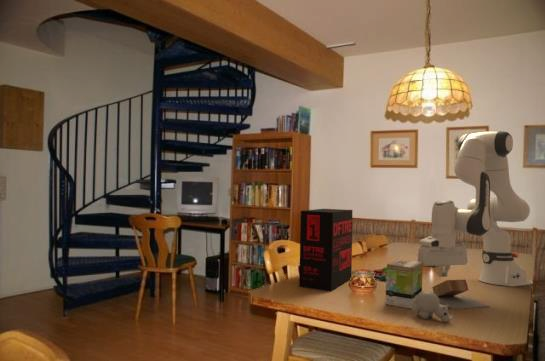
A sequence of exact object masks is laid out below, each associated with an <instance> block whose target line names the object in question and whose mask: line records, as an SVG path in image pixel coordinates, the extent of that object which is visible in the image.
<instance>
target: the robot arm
mask: <svg viewBox="0 0 545 361" xmlns="http://www.w3.org/2000/svg"><path fill="white" fill-rule="evenodd" d="M513 146H514V141H513V137H512V135H511V134H510V133H509V132H508V131H501V130H499V131H481V132H474V133H466V134H463V135H462V136H461V137H460V138H459V140H458V142H457V150H458V153H457V156H456V158H455V159H456V160H455V163H454V170H453V171H454V173H455V175H456V177H457V179H459V180H461V181H462V182H463V183H466V184H468V185H469V186H470V185H471V186H473V187H474V188H475V198H471V199H470V200H469V202H468V203H467V206H466V207H467V208H459V207H457V206H455V202H454V201H453V200H450V199H449V200H448V199H443V200H442V199H441V200H437V201H434V202H433V204H432V209H431V222H430V223H431V228H432V230H431V232H430V233H431V234H430V235H429V236H427V237H425V238H421V239H420V240H419V245H420V246H419V248H418V253H417V262H423V267H428V266H429V267H430V266H431V267H432V266H433V267H434V266H435V269H436V271H437V274H438V275H437V276H438V277H441V278H442V277H448V272H449V270H450V269H451V266H464V265H467V263H468V252H467V244H466V243H465V242H464V241H462V240H460V241H459V240H456V233H459V234H460V233H461V234H469V235H472V236H477V237H481V236H482V239H483V240H482V241H483V242H482V243H483V244H482V245H483V249H482V252H481V253H482V256H481V258H482V264H481V266H482V267H481V272H480V276H479V279H478V280H479V281H480V282H483V283H485V284H486V283H487V284H491V285H498V286H505V287H522V286H529V285H533V284H534V282H533V281H532V280H530V279H528V277H527V272H526V270H525V268H524V267H522V266H521V265H520V264H519V263H517V262H516V261H515V258H516V259H517V258H519V257H520V255H519V254H518V253H517V252H516V253H515V252H511V251H512V250H511V248H512V245H511V243H512V241H511V240H512V239H511V235H510V234H509V233H508V232H507V231H506V230H505V229H502V228H501V227H499V226H498V224H497V222H502V223H504V222H505V223H518V222H525V221H526V220H527V219H528V217H529V216H530V213H531V212H530V211H531V209H530V205H529V203H528V202H527V201H526V200H525V199H523V198H522V197H520V196H519V195H518V194H517V193H516V191H515V190H514V189H513V187H512V184H511V179H510V173H509V172H510V169H509V160H508V156H507V155H509V154H510V153H511V152H512V150H513ZM491 192H492V193H493V194H494V195H495V196H496V197H491ZM442 268H444V269H443V271H442Z"/></svg>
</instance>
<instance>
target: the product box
mask: <svg viewBox="0 0 545 361" xmlns="http://www.w3.org/2000/svg"><path fill="white" fill-rule="evenodd" d="M353 212H354V211H353V209H338V208H336V209H335V208H316V209H307V210H306V209H305V210H300V230H299V231H300V233H299V236H300V238H299V239H300V240H299V284H298V287H299V288H304V289H311V290H318V291H319V290H320V291H325V292H333V291H334V290H336V289H338V288H340V287H341V286H343V285H344V284H346V283H348V282H349V281H351V280H350V278H351V279H352V270H353V269H352V266H353V264H352V263H353V262H352V261H353V260H352V256H353Z"/></svg>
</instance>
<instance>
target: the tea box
mask: <svg viewBox="0 0 545 361" xmlns="http://www.w3.org/2000/svg"><path fill="white" fill-rule="evenodd" d="M386 267H387V274H386V282H385V300H384V301H385V302H384V303H385V304H386V305H389V306H393V307H399V308H404V309H405V308H406V309H411V310H412V307H413V305H414V304H415V303H416V299H417V296H418V295H419V293H420V292H423V267H424V266H423V262H418V260H417V261H415V260H410V259H409V260H408V259H395V260H393V261H391V262H388V263H387V264H386Z"/></svg>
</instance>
